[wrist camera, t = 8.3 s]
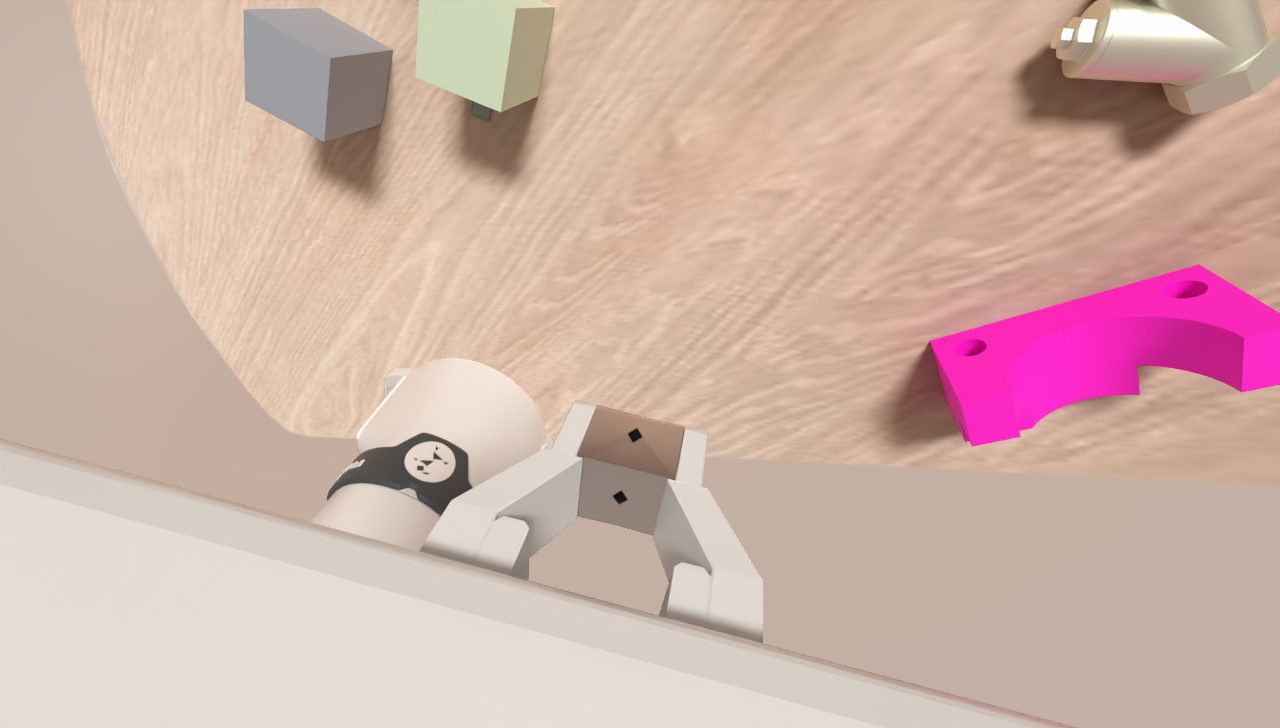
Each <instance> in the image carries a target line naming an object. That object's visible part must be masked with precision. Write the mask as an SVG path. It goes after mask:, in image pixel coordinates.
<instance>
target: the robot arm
mask: <svg viewBox="0 0 1280 728" xmlns="http://www.w3.org/2000/svg"><path fill="white" fill-rule="evenodd" d="M384 394H385V399H384V401H383V402H382V403H381V404H380V405H379V407H378V408H377V409H376V410H375V411H374V413H373V414H372V415H371V416H370V418H369V419H368V420H367V421H366V422H365V424H364V425H363V426H362V427H361V429H360V430H359V431H358V433H357V436H356V438H357V439H358V451H359V454H360V455H359V456H358V457H357V458H356V459H355V460H354V461H353V463H352V464H350V465H349V466H348V467H347V468H346V469H345V470H344V471H343V472H342V473H341V474H340V476H339V477H338V479H337V481H336V483H335V484H334V485H333V487H332V488H331V489H330V490H329V493H328V496H327V502H326V503H325V504H324V505H323V506H322V508H321V509H320V510H319V511H318V512H317V513H316V514H315V516H314V517H313V518H312V519H311V520H310V521H309V522H307V521H304V520H300V519H296V518H293V517H289V516H285V515H282V514H278V513H274V512H270V511H267V510H263V509H259V508H256V507H251V506H248V505H244V504H241V503H237V502H233V501H230V500H226V499H222V498H218V497H214V496H211V495H207V494H203V493H199V492H196V491H192V490H189V489H185V488H181V487H177V486H174V485H170V484H166V483H163V482H159V481H155V480H151V479H147V478H144V477H140V476H136V475H133V474H129V473H125V472H121V471H118V470H113V469H110V468H106V467H103V466H99V465H95V464H91V463H88V462H84V461H80V460H77V459H73V458H69V457H65V456H61V455H58V454H54V453H50V452H47V451H43V450H39V449H35V448H32V447H28V446H25V445H21V444H18V443H15V442H11V441H7V440H4V439H1V438H0V728H1075V727H1072V726H1068V725H1064V724H1061V723H1057V722H1053V721H1050V720H1046V719H1042V718H1038V717H1035V716H1031V715H1027V714H1023V713H1020V712H1015V711H1012V710H1009V709H1005V708H1001V707H997V706H994V705H990V704H986V703H982V702H979V701H975V700H971V699H968V698H964V697H960V696H956V695H953V694H949V693H945V692H942V691H938V690H934V689H930V688H926V687H923V686H919V685H915V684H912V683H908V682H904V681H901V680H897V679H893V678H889V677H886V676H882V675H878V674H874V673H871V672H867V671H863V670H860V669H856V668H852V667H848V666H845V665H841V664H837V663H833V662H830V661H826V660H822V659H819V658H814V657H811V656H807V655H804V654H800V653H796V652H792V651H789V650H785V649H781V648H777V647H774V646H770V645H767V644H763V581H762V579H761V578H760V576H759V574H758V572H757V571H756V569H755V567H754V566H753V564H752V562H751V561H750V559H749V557H748V556H747V554H746V552H745V550H744V549H743V547H742V545H741V544H740V542H739V540H738V538H737V537H736V535H735V533H734V532H733V530H732V529H731V527H730V525H729V523H728V522H727V520H726V518H725V516H724V515H723V513H722V511H721V510H720V508H719V506H718V505H717V503H716V501H715V499H714V498H713V496H712V494H711V493H710V491H709V489H706V488H702V481H703V473H704V465H705V457H706V449H707V441H708V432H707V431H705V430H701V429H696V428H692V427H687V426H685V428H684V426H681V425H677V424H672V423H668V422H664V421H659V420H655V419H651V418H646V417H642V416H638V415H634V414H630V413H626V412H623V411H619V410H615V409H611V408H607V407H604V406H600V405H598V406H597V405H594V404H590V403H587V402H583V401H579V400H576V401H575V402H574V403H573V404H572V406H571V408H570V410H569V412H568V414H567V417H566V419H565V421H564V423H563V425H562V427H561V429H560V431H559V433H558V435H557V437H556V440H555V442H553V440H552V439H551V438H550V437H549V436H548V434H547V432H546V430H545V427H544V423H543V420H542V417H541V414H540V412H539V410H538V408H537V406H536V405H535V403H534V402H533V400H532V399H531V398H530V396H529V395H528V394H527V393H526V392H525V391H524V390H523V389H522V388H521V387H520V386H519V385H518V384H517V383H515V382H514V381H513V380H512V379H510V378H509V377H507V376H506V375H504V374H503V373H501V372H499V371H497V370H496V369H494V368H491V367H489V366H487V365H484V364H482V363H479V362H475V361H471V360H467V359H460V358H443V359H437V360H434V361H431V362H428V363H426V364H424V365H422V366H420V367H417V368H414V369H411V368H398V369H392V370H390V371H389V372H388V373H387V375H386V376H385V377H384ZM577 516H579V517H583V518H588V519H592V520H596V521H601V522H606V523H610V524H614V525H615V524H616V525H618V526H621V527H625V528H628V529H632V530H635V531H639V532H642V533H646V534H649V535H653V539H654V542H655V545H656V547H657V550H658V553H659V556H660V559H661V561H662V564H663V567H664V570H665V572H666V575H667V578H668V581H669V585H668V588H667V591H666V595H665V598H664V601H663V604H662V607H661V610H660V613H659V616H658V615H654V614H650V613H646V612H643V611H639V610H635V609H631V608H628V607H624V606H620V605H617V604H613V603H609V602H606V601H601V600H598V599H594V598H591V597H587V596H583V595H580V594H576V593H572V592H568V591H565V590H561V589H557V588H553V587H550V586H546V585H542V584H539V583H535V582H531V581H528V576H529V558H530V557H531V556H532V555H534V554H535V553H536V552H537V551H538V550H540V549H541V548H542V547H543V546H544V545H546V544H547V543H548V542H549V541H550V540H552V539H553V538H554V537H555V536H556V535H558V534H559V533H560V532H561V531H562V530H564V529H565V528H566V527H567V526H568V525H569V524H571V523H572V522H573V521H574V520H575V519H576V518H577Z"/></svg>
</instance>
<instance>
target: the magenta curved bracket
mask: <svg viewBox="0 0 1280 728" xmlns="http://www.w3.org/2000/svg"><path fill="white" fill-rule="evenodd" d="M930 343H931V347H932V350H933V354H934V357H935V361H936V364H937V368H938V371H939V375H940V378H941V382H942V385H943V389H944V392H945V396H946V399H947V403H948V406H949V408H950V410H951V412H952V414H953V416H954V419H955V421H956V423H957V425H958V427H959V429H960V432H961V434H962V436H963V438H964V440H965V442H967V441H970V443H971V445H972V446H977V445H982V444H987V443H992V442H997V441H1002V440H1007V439H1012V438H1017V437H1020V432H1019V431H1020V430H1025V429H1030V428H1033V427H1034V425H1035V424H1036V423H1037V422H1038V421H1039V420H1041V419H1042V418H1043V417H1045V416H1046V415H1047V414H1049V413H1051V412H1053V411H1054V410H1056V409H1058V408H1061V407H1063V406H1065V405H1068V404H1071V403H1074V402H1077V401H1081V400H1085V399H1089V398H1095V397H1101V396H1110V395H1140V394H1139V379H1138V365H1148V366H1161V367H1168V368H1175V369H1180V370H1186V371H1190V372H1194V373H1198V374H1201V375H1204V376H1208V377H1211V378H1213V379H1216V380H1218V381H1221V382H1223V383H1225V384H1227V385H1229V386H1232V387H1233V388H1235V389H1237V390H1239V391H1240V392H1246V391H1251V390H1256V389H1260V388H1265V387H1270V386H1275V385H1280V313H1279V312H1277V311H1275V310H1274V309H1272V308H1270V307H1269V306H1267V305H1265V304H1264V303H1262V302H1260V301H1259V300H1257V299H1255V298H1254V297H1252V296H1250V295H1249V294H1247V293H1246V292H1244V291H1242V290H1241V289H1239V288H1237V287H1236V286H1234V285H1232V284H1231V283H1229V282H1227V281H1226V280H1224V279H1222V278H1221V277H1219V276H1217V275H1216V274H1214V273H1212V272H1211V271H1209V270H1207V269H1206V268H1204V267H1202V266H1201V265H1196V266H1192V267H1188V268H1185V269H1181V270H1178V271H1174V272H1171V273H1167V274H1164V275H1160V276H1157V277H1153V278H1150V279H1146V280H1143V281H1139V282H1136V283H1132V284H1129V285H1125V286H1122V287H1118V288H1115V289H1111V290H1108V291H1104V292H1100V293H1097V294H1093V295H1090V296H1086V297H1083V298H1079V299H1076V300H1072V301H1069V302H1065V303H1062V304H1058V305H1055V306H1051V307H1048V308H1044V309H1041V310H1037V311H1034V312H1030V313H1027V314H1023V315H1019V316H1016V317H1012V318H1009V319H1005V320H1002V321H998V322H995V323H991V324H988V325H984V326H981V327H977V328H974V329H970V330H967V331H963V332H960V333H956V334H953V335H949V336H946V337H942V338H939V339H935V340H931V341H930Z"/></svg>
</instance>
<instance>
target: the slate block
mask: <svg viewBox="0 0 1280 728" xmlns="http://www.w3.org/2000/svg"><path fill="white" fill-rule="evenodd" d="M392 52H393V50H392V49H390V48H388V47H387V46H385V45H383V44H381V43H379V42H378V41H376V40H374V39H372V38H371V37H369V36H367V35H365V34H364V33H362V32H360V31H358V30H357V29H355V28H353V27H351V26H349V25H348V24H346V23H344V22H342V21H341V20H339V19H337V18H335V17H334V16H332V15H330V14H328V13H326V12H325V11H323V10H321V9H251V10H244V56H245V100H246V101H248V102H250V103H252V104H254V105H255V106H257V107H259V108H261V109H263V110H265V111H267V112H268V113H270V114H272V115H274V116H276V117H278V118H280V119H282V120H283V121H285V122H287V123H289V124H291V125H293V126H295V127H296V128H298V129H300V130H302V131H304V132H306V133H308V134H309V135H311V136H313V137H315V138H317V139H319V140H321V141H323V142H327V141H330V140H333V139H336V138H339V137H343V136H346V135H349V134H352V133H355V132H358V131H361V130H364V129H368V128H371V127H374V126H377V125H380V124H382V121H383V114H384V107H385V100H386V93H387V86H388V80H389V73H390V66H391V59H392Z"/></svg>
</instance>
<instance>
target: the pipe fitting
mask: <svg viewBox="0 0 1280 728" xmlns="http://www.w3.org/2000/svg"><path fill="white" fill-rule="evenodd" d="M1051 48H1053V49H1056V57H1057V58H1058V59H1062V65H1061V66H1062V72H1063V74H1064V76H1065V77H1067V78H1080V79H1097V80H1114V81H1132V82H1149V83H1162V87H1163V89H1164V92H1165V95H1166V97H1167V100H1168V102H1169V105H1170V106H1171V107H1173V108H1175V109H1176V110H1178V111H1180V112H1182V113H1186V114H1191V115H1194V114H1199V113H1204V112H1208V111H1212V110H1215V109H1219V108H1222V107H1225V106H1228V105H1230V104H1233V103H1235V102H1237V101H1240V100H1242V99H1244V98H1246V97H1248V96H1250V95H1252V94H1254V93H1255V92H1257V91H1259V90H1260V89H1262V88H1263V87H1265V86H1266V85H1267V84H1268V83H1270V82H1271V81H1272V80H1273V79H1274V78H1275V77H1276V76H1277V75H1278V74H1279V73H1280V37H1279V36H1277V35H1274V34H1271V33H1269V32H1268V29H1267V25H1266V22H1265V18H1264V15H1263V11H1262V8H1261V5H1260V1H1259V0H1097V1H1096V2H1094V3H1093V4H1092V5H1090V6H1089V7H1088V8H1087V9H1086V10H1085V12H1084V13H1083V14H1082V15H1081V17H1074V18H1073V19H1072V20H1071V21H1070V22H1069V24H1068V25H1067V26H1066V27H1065V28H1059V29H1058V30H1057V31H1056V33H1055V34H1054V36H1053V38H1052V42H1051Z"/></svg>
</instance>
